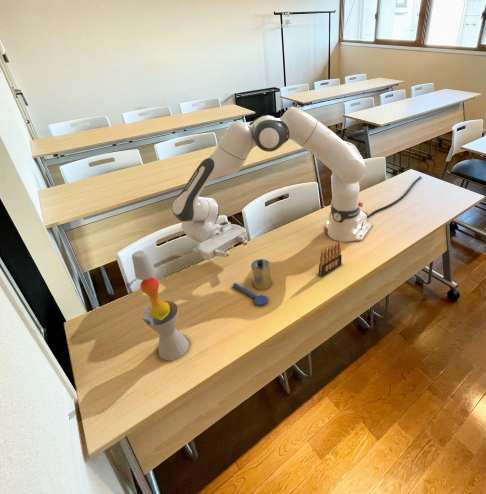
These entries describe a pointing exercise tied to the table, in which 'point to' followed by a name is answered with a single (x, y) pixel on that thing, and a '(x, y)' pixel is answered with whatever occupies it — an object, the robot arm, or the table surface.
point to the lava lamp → (159, 310)
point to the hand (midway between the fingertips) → (236, 249)
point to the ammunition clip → (330, 258)
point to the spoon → (253, 295)
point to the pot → (261, 273)
